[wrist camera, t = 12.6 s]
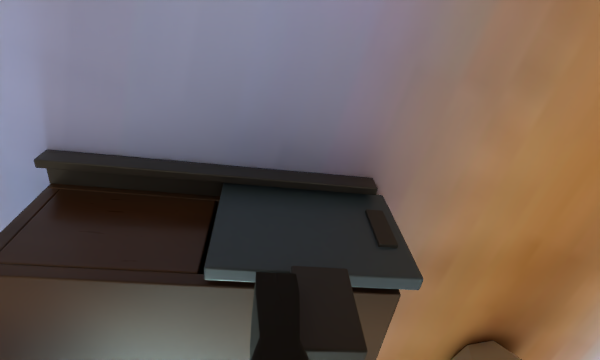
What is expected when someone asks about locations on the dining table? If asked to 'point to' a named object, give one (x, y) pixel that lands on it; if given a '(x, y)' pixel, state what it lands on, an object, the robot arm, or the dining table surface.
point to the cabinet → (140, 263)
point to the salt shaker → (485, 352)
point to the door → (313, 255)
